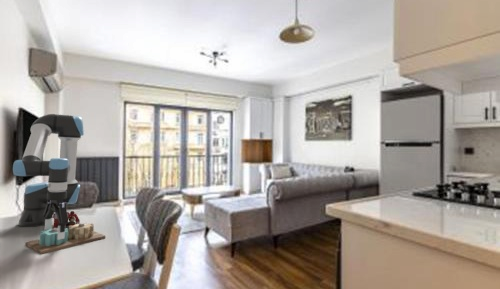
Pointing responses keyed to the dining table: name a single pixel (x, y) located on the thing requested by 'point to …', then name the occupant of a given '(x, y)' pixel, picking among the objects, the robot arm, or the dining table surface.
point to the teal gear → (51, 238)
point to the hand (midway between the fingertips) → (54, 235)
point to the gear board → (69, 238)
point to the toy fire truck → (70, 217)
